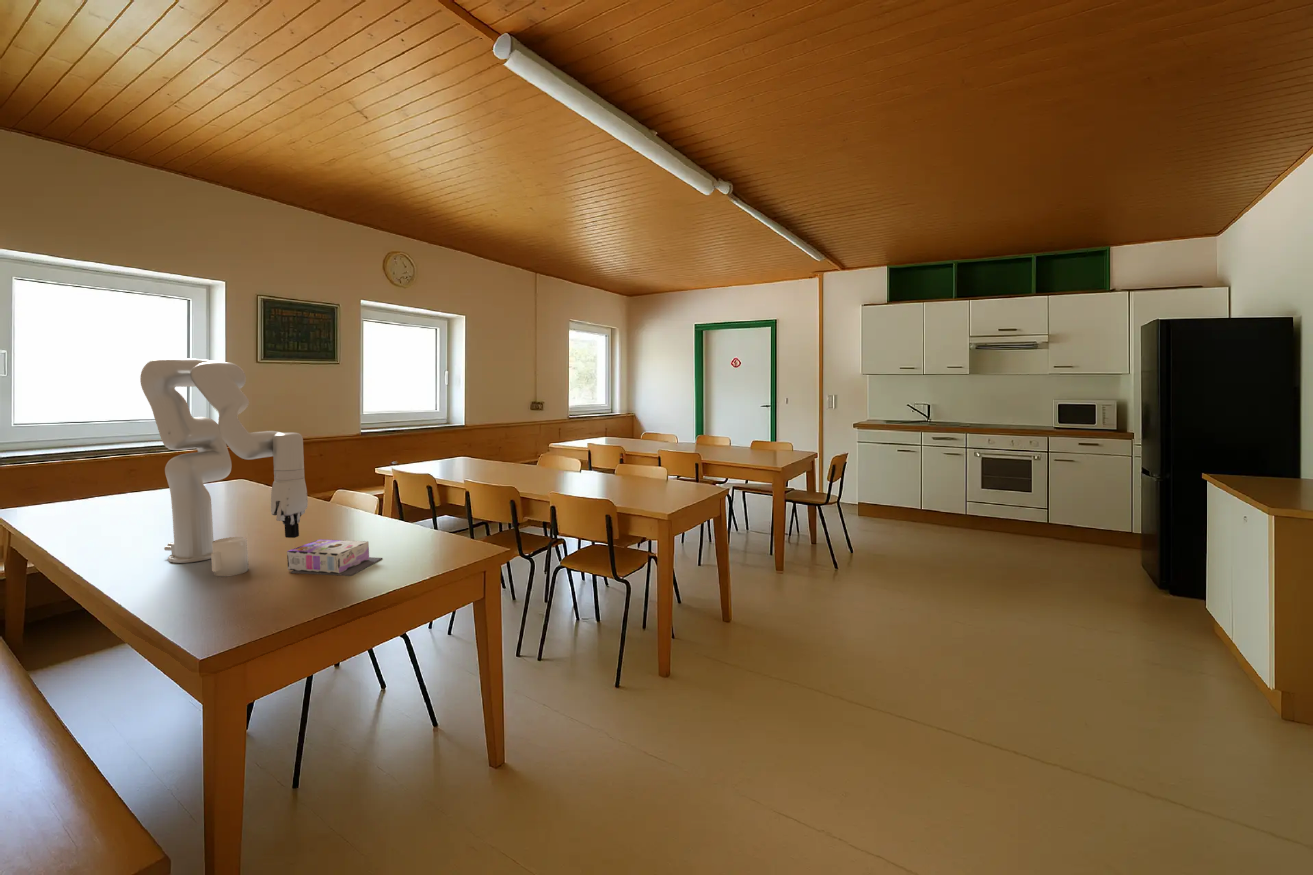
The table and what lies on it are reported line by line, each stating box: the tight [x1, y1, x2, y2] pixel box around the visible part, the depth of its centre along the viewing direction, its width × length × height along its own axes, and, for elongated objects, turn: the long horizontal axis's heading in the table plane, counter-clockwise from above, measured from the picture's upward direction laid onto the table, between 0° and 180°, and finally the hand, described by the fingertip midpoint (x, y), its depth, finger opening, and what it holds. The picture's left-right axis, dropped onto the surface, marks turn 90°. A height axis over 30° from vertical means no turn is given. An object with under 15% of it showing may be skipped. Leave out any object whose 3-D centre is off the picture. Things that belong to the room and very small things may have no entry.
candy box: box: [286, 538, 370, 573], centre depth 178 cm, size 14×6×16 cm
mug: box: [210, 536, 249, 577], centre depth 171 cm, size 8×10×9 cm
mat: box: [290, 556, 383, 577], centre depth 179 cm, size 18×16×1 cm
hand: (292, 536), depth 179 cm, fingers closed
